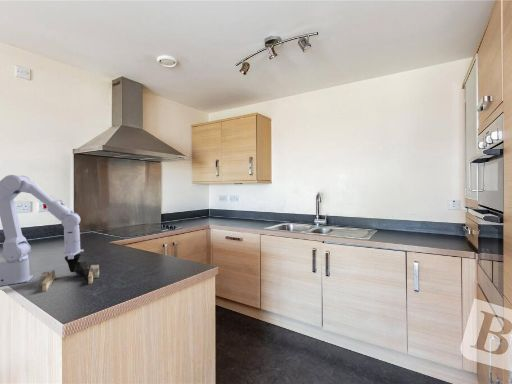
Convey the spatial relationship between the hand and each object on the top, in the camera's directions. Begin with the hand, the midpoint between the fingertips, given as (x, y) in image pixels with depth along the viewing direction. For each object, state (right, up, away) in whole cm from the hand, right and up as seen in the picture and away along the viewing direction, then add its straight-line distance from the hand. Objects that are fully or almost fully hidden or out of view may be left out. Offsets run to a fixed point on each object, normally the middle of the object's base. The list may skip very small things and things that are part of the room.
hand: (73, 271), depth 119 cm
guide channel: (+4, -2, -7) cm, 8 cm away
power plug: (+7, -2, -3) cm, 8 cm away
